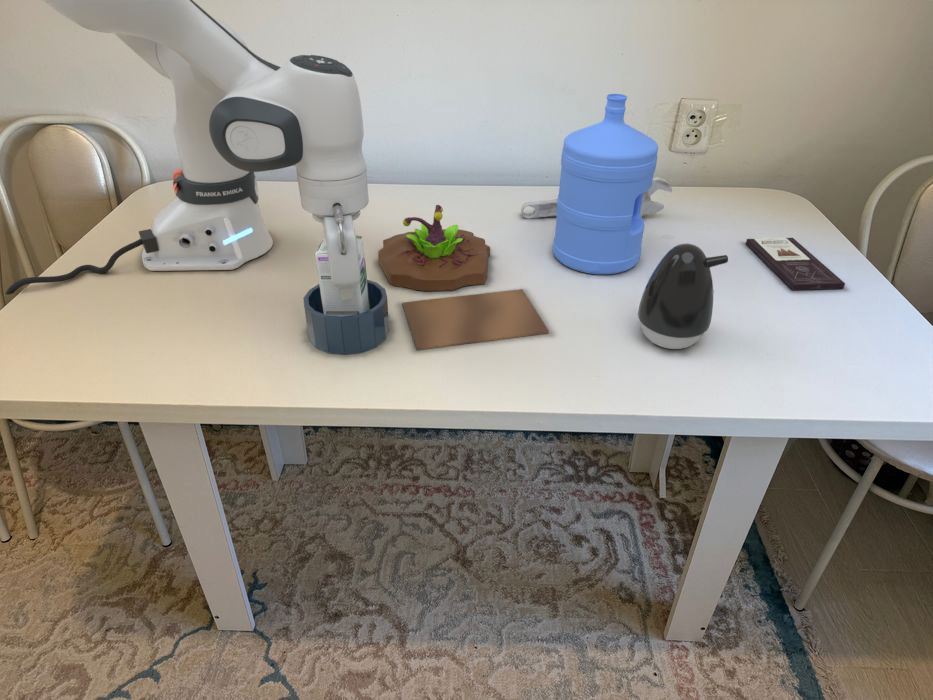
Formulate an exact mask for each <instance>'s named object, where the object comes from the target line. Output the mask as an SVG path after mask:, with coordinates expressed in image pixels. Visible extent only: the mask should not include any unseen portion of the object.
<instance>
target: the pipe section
mask: <svg viewBox="0 0 933 700" xmlns="http://www.w3.org/2000/svg"><path fill="white" fill-rule="evenodd" d="M367 283H368V293H369V303H370V310H369V311H366V312H363V313H360V314H357V315H350V316H342V317H341V316H330V315H325V314H324V312H323V306H322V299H321V292H320V285H319V283H318V284H316V285H315V286H313V287H311V288H310V289H309V290H308V291H307V292H306V293H305V295H304V296H303V308H304V314H305V321H306V329H307V335H308V341H309V342H310V343H311V344H312V346H314V348H316V349H317V350H320V351H322V352H325V353H327V354H332V355H333V354H334V355H341V356H342V355H343V356H345V355H353V354H354V355H355V354H362V353H364V352H367V351H370V350H372V349H375V348H377V347H378V346H380V345H381V344H382V343H383V342H385V341H386V340H387V337H388V335H389V333H390V317H389V302H388V295H387V291H386V288H384V287H383V285H381V284H380V283H378V282H377V281H373V280H370V279H367Z"/></svg>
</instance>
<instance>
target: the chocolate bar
mask: <svg viewBox="0 0 933 700" xmlns="http://www.w3.org/2000/svg"><path fill="white" fill-rule="evenodd" d="M745 245H747V247H749V249H750V250H752V252H753V253H754V254H755V255H756V256H757V257H758V258H760V260H761V261H762V262H764V264H765V265H766V266H767V267H768V268H769V269H771V271H773V273H774V274H775V275H776V276H777V277H778V278H779V279H780V280H781V281H782V282H783V283H784V284H785V285H786V286H787V287H788V288H789V289H790V290H791V291H804V290H805V291H807V290H810V291H811V290H837V289H841V290H842V289H844V288H845V285H846V282H845V281H843V280H842V279H841V278H840V277H838V275H837V274H835V272H833V271H832V270H831V269H830V268H828V267H827V266H826V265H825V264H824V263H822V262H821V260H819V259H818V258H817V257H815V255H813V253H811V252H810V251H808V250H807V248H805V247H804V246H803V245H802V244H801V243H799V242H798V241H797V240H796V239H795V238H794V237H771V238H770V237H765V238H764V237H763V238H747V239H746V241H745Z"/></svg>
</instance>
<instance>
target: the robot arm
mask: <svg viewBox="0 0 933 700" xmlns="http://www.w3.org/2000/svg"><path fill="white" fill-rule="evenodd" d="M42 1H44V3H46V5H48V6H49V7H50V8H52V9H53V10H55V11H56V12H58V13H59V14H60V15H62V16H64V17H66V18H67V19H68V20H70V21H71V22H73V23H75V24H76V25H78V26H80V27H82V28H83V29H86V30H88V31H92V32H97V33H104V34H114V35H115V36H116V37H117V38H118V39H119V40H120V41H122V42H123V43H124V44H125V45H126V46H127V47H129V49H130V50H132V52H134V53H135V54H136V55H137V56H138V57H140V58H141V59H142V60H143V61H144V62H145V63H146V64H148V65H149V66H150V68H152V69H153V70H155V71H156V72H157V73H158V74H159V75H161V76H162V77H164V78H166V79H168V80H169V81H171V83H172V86H173V90H174V99H175V100H174V101H175V122H174V124H173V128H172V129H173V132H172V133H173V136H174V141H175V143H176V149H177V153H178V157H179V161H180V165H181V169H179V168H177V169H175V170H174V172H173V174H172V180H173V181H172V185H173V187H172V188H173V191H174V194H175V197H174V199H172V200H171V201H170V202H169V203H168V204H167V205H166V206H164V208H162V209H161V210H160V211H159V212H158V213H157V214H156V216H155V218H154V220H153V222H152V226H151V228H148V229H142V230H138V235H139V239H137V240H135V241H133V242H131V243H129V244H126V245H124V246H122V247H121V248H119V249H118V250H116V251H115V252H113V254H112V255H111V256H110V258H109V259H108V261H107V263H106V264H105V265H104V266H102V267H101V266H100V267H99V266H96V265H93V264H83V265H80V266H78V267H76V268H74V269H73V270H72V271H70V272H68V273H65V274H61V275H54V276H30V277H26V278H21V279H19V280H16V281H15V282H14V283H13V284H11V285H10V286H9V287H8V289H7V290H6V291H5V295H12V294H14V293H15V292H16V291H17V290H18V289H20V288H21V287H23V286H26V285H30V284H45V283H47V284H48V283H61V282H66V281H69V280H71V279H73V278H75V277H77V276H78V275H79V274H81V273H83V272H86V271H91V272H94V273H97V274H105V273H108V272H109V271H111V270H112V268H113V267H114V265H115V263H116V262H117V260H118V259H119V258H120V257H121V256H123V255H124V254H126V253H127V252H131V250H134V249H136V248H138V247H140V246H142V247H143V249H142V253H141V260H142V264H143V267H144V268H145V269H146V270H148V271H151V272H154V271H155V272H158V271H159V272H161V271H166V272H167V271H232V270H236V269H237V268H240V267H241V266H243V265H244V264H246V263H247V262H249V261H252V260H254V259H257V258H259V257H261V256H263V255H264V254H266V253H267V252H268V251H270V250H271V248H272V247H273V245H274V239H273V238H272V235H271V234H270V232H269V230H268V227H267V224H266V222H265V220H264V219H265V218H264V217H263V213H262V211H261V207H260V203H259V200H260V199H259V197H260V196H259V195H260V194H259V188H258V182H257V176H256V174H255V173H261V172H267V171H274V170H281V169H285V168H289V167H292V166H293V167H295V169H296V177H297V184H298V192H299V198H300V206H301V208H302V209H303V210H304V211H305V212H307V213H310V214H311V216H312V218H313V220H314V221H316V222H318V223H320V224H322V230H323V237H324V236H325V241H326V247H327V253H328V261H329V268H330V274H331V280H332V284H333V286H334V287H339V295H340V299H341V300H350V299H352V298H353V289H352V287H353V286H355V285H359V284H360V280H361V276H360V265H359V255H358V246H357V238H356V236H357V231H356V228H355V224H354V221H356V220H357V219H358V218H359V217H360V216H361V210H364V209H365V208H366V207H367V206H368V205H369V204H370V203H369V201H370V197H369V185H368V173H367V164H366V163H367V162H366V160H365V158H364V155H363V154H364V153H363V141H364V134H365V133H364V131H365V130H364V118H363V110H362V103H361V97H360V91H359V88H358V87H359V86H358V84H357V79H356V78H355V75H354V73H353V71H352V70H351V69H350V68H349V67H348V66H347V65H346V64H345V63H342V62H340V61H338V60H337V59H335V58H332V57H328V56H324V55H316V54H300V55H295V56H292V57H291V58H289V59H288V60H287V62H286V63H285V64H283V65H282V66H278V65H276V64H274V63H272V62H269V61H267V60H265V59H263V58H261V56H258V55H257V54H256V53H254V52H253V51H252V50H251V49H249V47H248V46H247V43H246V42H245V41H244V40H243V38H242V37H241V36H240V35H239V34H237V32H236V31H235V30H234V29H232V28H231V27H230V25H228V24H226V23H225V22H223V21H222V20H220V19H217V18H214V17H213V16H211V15H210V14H209V13H208V12H207V11H206V10H204V8H203V7H201V6H200V5H199V4H198V3H197V2H195V1H194V0H42ZM341 253H342V254H345V253H346V254H345V255H342V254H341Z"/></svg>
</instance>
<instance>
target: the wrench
mask: <svg viewBox="0 0 933 700" xmlns="http://www.w3.org/2000/svg"><path fill="white" fill-rule="evenodd" d="M658 190H661V191H665V192H669V193H672V191H673V188H672V186H671V184H670V183H669V182H668V180H666V179H665V178H662V177H660V176H658V177H657V176H653V181H652V186H651V188H650V189H649V190H647V191H646V192H644V194H643V200H642V206H641V212H640V215H641V217H642V218H643V216H644V215H652V214H656V213H658V212H660V211H662V210H664V208H665V205H664V204H663V203H661V202H658V201H655V200H653V201H652V199H651V198H652V197H651V196H652V195H653V194H655V193H656V192H657V191H658ZM557 199H558V198H555V199H544V200H536V201H527V202H524V203H522V205H521V208H520V212H521V216H522V217H523V218H524V219H528V220H530V219H531V220H532V219H537V218H539V219H540V218H546V217H554V216H557ZM527 207H531V208H533V212H531V213H525V212H524V211H525V209H526V208H527Z"/></svg>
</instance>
